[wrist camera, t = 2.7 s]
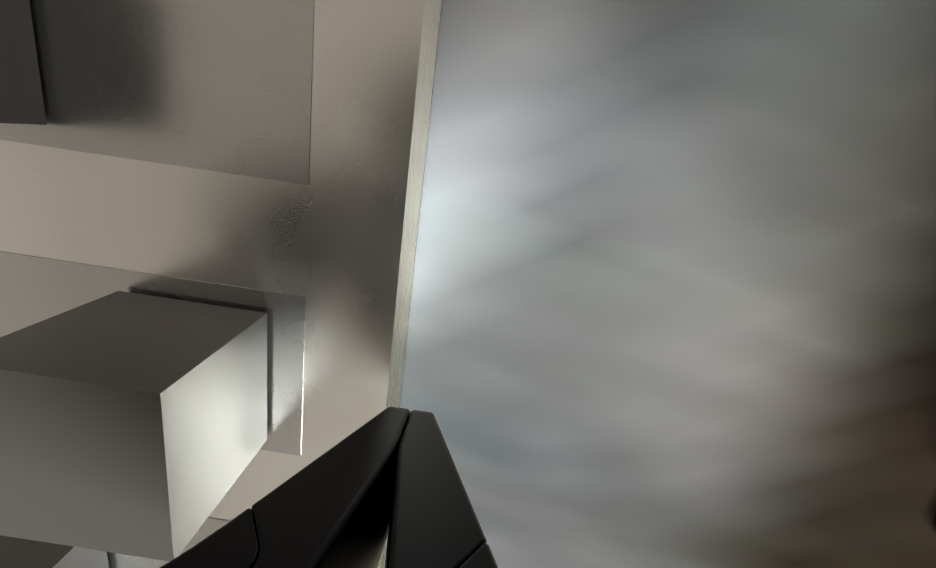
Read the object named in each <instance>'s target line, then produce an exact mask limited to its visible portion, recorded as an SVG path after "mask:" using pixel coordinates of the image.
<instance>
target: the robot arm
mask: <svg viewBox="0 0 936 568" xmlns="http://www.w3.org/2000/svg"><path fill="white" fill-rule="evenodd" d="M387 535H388V541H387V550H386V560H385V568H498V567H497V564H496V562H495V560H494V557H493V555H492V552H491V550H490V548H489V545H488V544H486V539H485V536H484V534H483V531H482V529H481V527H480V524H479V522H478V519H477V517H476V515H475V512H474V510H473V507H472V505H471V503H470V500H469V498H468V496H467V493H466V491H465V488H464V486H463V484H462V481H461V479H460V476H459V474H458V472H457V469H456V467H455V464H454V462H453V460H452V457H451V455H450V452H449V450H448V448H447V445H446V443H445V440H444V438H443V436H442V433H441V431H440V428H439V426H438V424H437V421H436V419H435V416H434V415H433V413H431V412H425V411H418V410H413V411H412V412H411V413H410V411H409V410H408V409H404V408H397V407H388V408H386V409H385V410H383V411H382V412H381V413H379V414H378V415H376V416H375V417H374V418H372V419H371V420H370V421H368V422H367V423H365V424H364V425H363V426H361V427H360V428H358V429H357V430H356V431H354V432H353V433H352V434H350V435H349V436H347V437H346V438H345V439H343V440H342V441H341V442H339V443H338V444H336V445H335V446H334V447H332V448H331V449H329V450H328V451H327V452H325V453H324V454H323V455H321V456H320V457H318V458H317V459H316V460H314V461H313V462H311V463H310V464H309V465H307V466H306V467H305V468H303V469H302V470H300V471H299V472H298V473H296V474H295V475H294V476H292V477H291V478H289V479H288V480H287V481H285V482H284V483H282V484H281V485H280V486H278V487H277V488H276V489H274V490H273V491H271V492H270V493H269V494H267V495H266V496H265V497H263V498H262V499H260V500H259V501H258V502H256V503H255V504H253V505H252V507H251V509H250V508H248V509H246V510H245V511H243V512H242V513H241V514H239V515H238V516H237V517H235V518H234V519H232V520H231V521H230V522H228V523H227V524H225V525H224V526H222V527H221V528H220V529H218V530H217V531H215V532H214V533H212V534H211V535H209V536H208V537H206V538H205V539H204V540H202V541H201V542H199V543H198V544H196V545H195V546H193V547H192V548H190V549H189V550H187V551H186V552H184V553H182V554H181V555H179V556H178V557H176V558H174V559H173V560H171V561H170V562H168V563H167V564H165V565H163V566H162V567H160V568H377V565H378V563H379V560H380V557H381V554H382V551H383V548H384V545H385V542H386V539H387Z"/></svg>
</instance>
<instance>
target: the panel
mask: <svg viewBox="0 0 936 568" xmlns="http://www.w3.org/2000/svg"><path fill="white" fill-rule="evenodd" d="M29 2H30V9H31V17H32V24H33V31H34V38H35V45H36V52H37V59H38V66H39V73H40V80H41V88H42V95H43V102H44V109H45V116H46V123H47V125H36V124H12V123H0V337H2V336H5V335H8V334H10V333H13V332H15V331H18V330H20V329H23V328H25V327H28V326H30V325H33V324H35V323H38V322H41V321H43V320H46V319H48V318H51V317H53V316H56V315H58V314H61V313H63V312H66V311H68V310H71V309H73V308H76V307H79V306H81V305H84V304H86V303H89V302H91V301H94V300H96V299H99V298H101V297H104V296H106V295H109V294H112V293H114V292H117V291H123V292H130V293H137V294H143V295H150V296H157V297H163V298H170V299H177V300H183V301H190V302H197V303H204V304H210V305H217V306H224V307H230V308H237V309H244V310H250V311H257V312H264V313H267V441H266V442H265V443H264V444H263V446H262V447H261V448H260V450H259V451H258V452H257V454H256V455H255V456H254V458H253V459H252V460H251V462H250V463H249V464H248V466H247V467H246V468H245V469H244V471H243V472H242V473H241V475H240V476H239V477H238V479H237V480H236V481H235V483H234V484H233V485H232V487H231V488H230V489H229V490H228V492H227V493H226V494H225V496H224V497H223V498H222V500H221V501H220V502H219V504H218V505H217V506H216V508H215V509H214V510H213V511H212V513H211V514H210V515H209V517H208V518H207V519H206V521H205V522H204V523H203V525H202V526H201V527H200V529H199V530H198V531H197V532H196V534H195V535H194V536H193V538H192V539H191V540H190V542H189V543H188V544H187V546H186V547H185V548H184V550H183V551H182V552H181V554H182V553H184V552H186V551H187V550H189V549H190V548H192V547H193V546H195V545H196V544H198V543H199V542H201V541H202V540H204V539H205V538H206V537H208V536H209V535H211V534H212V533H214V532H215V531H217V530H218V529H220V528H221V527H222V526H224V525H225V524H227V523H228V522H230V521H231V520H232V519H234V518H235V517H237V516H238V515H239V514H241V513H242V512H243V511H245V510H246V509H248V508H250V509H251V507H252V505H253V504H255V503H256V502H258V501H259V500H260V499H262V498H263V497H265V496H266V495H267V494H269V493H270V492H271V491H273V490H274V489H276V488H277V487H278V486H280V485H281V484H282V483H284V482H285V481H287V480H288V479H289V478H291V477H292V476H294V475H295V474H296V473H298V472H299V471H300V470H302V469H303V468H305V467H306V466H307V465H309V464H310V463H311V462H313V461H314V460H316V459H317V458H318V457H320V456H321V455H323V454H324V453H325V452H327V451H328V450H329V449H331V448H332V447H334V446H335V445H336V444H338V443H339V442H341V441H342V440H343V439H345V438H346V437H347V436H349V435H350V434H352V433H353V432H354V431H356V430H357V429H358V428H360V427H361V426H363V425H364V424H365V423H367V422H368V421H370V420H371V419H372V418H374V417H375V416H376V415H378V414H379V413H381V412H382V411H383V410H385V409H386V408H388V407H397V408H399V404H400V394H401V385H402V375H403V366H404V356H405V347H406V337H407V328H408V318H409V309H410V299H411V290H412V280H413V271H414V261H415V252H416V242H417V233H418V223H419V214H420V204H421V195H422V185H423V176H424V166H425V157H426V147H427V138H428V129H429V119H430V110H431V100H432V91H433V81H434V72H435V62H436V53H437V43H438V34H439V24H440V15H441V5H442V0H29ZM384 546H385V545H384ZM181 554H180V555H181ZM383 555H384V548H383V551H382V554H381V557H380V560H379V563H378V565H377V568H382V565H383ZM107 556H108V564H109V568H160V567H162V566H163V565H165V564H167V563H168V562H170V561H164V560H157V559H151V558H145V557H138V556H132V555H125V554H119V553H112V552H107Z"/></svg>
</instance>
